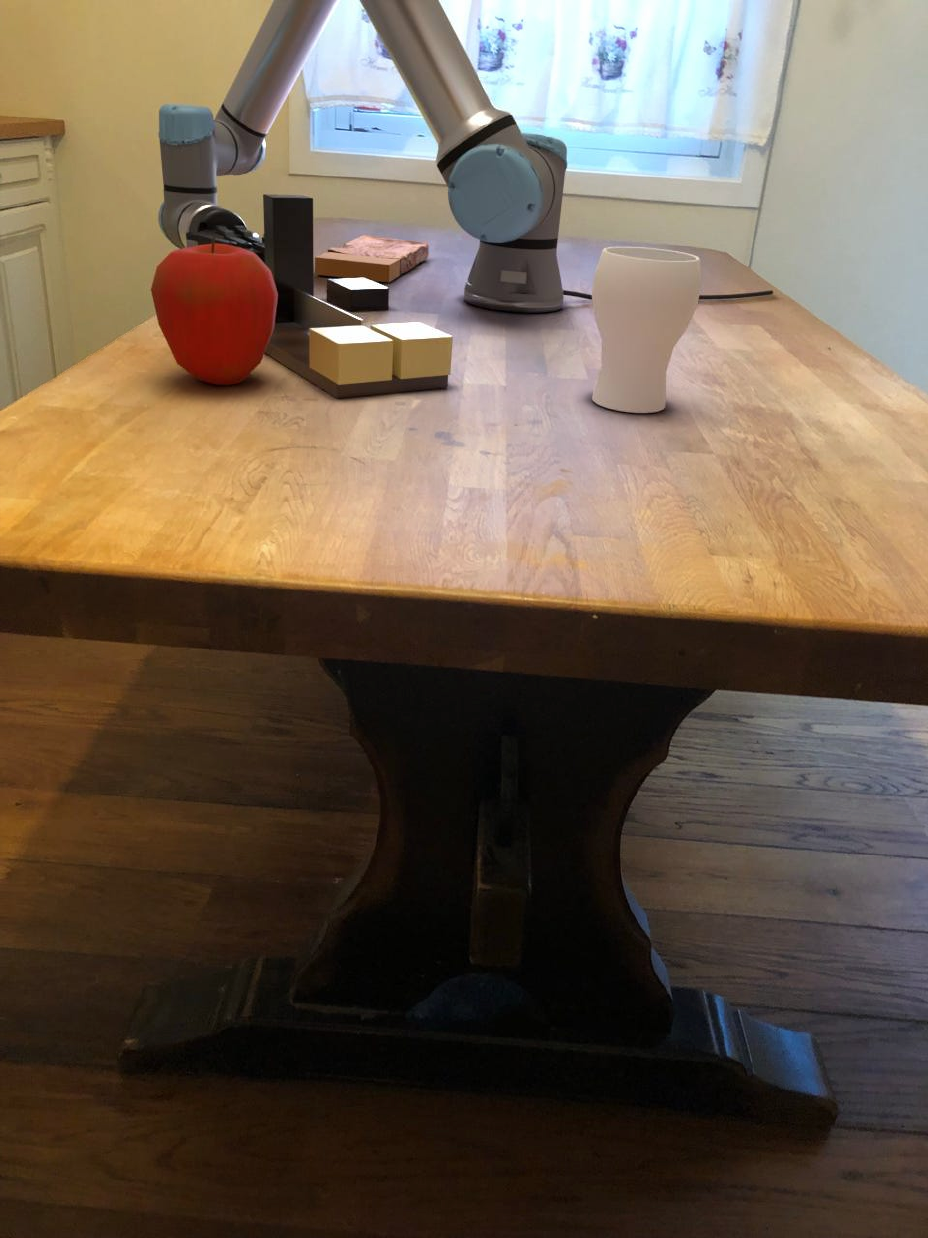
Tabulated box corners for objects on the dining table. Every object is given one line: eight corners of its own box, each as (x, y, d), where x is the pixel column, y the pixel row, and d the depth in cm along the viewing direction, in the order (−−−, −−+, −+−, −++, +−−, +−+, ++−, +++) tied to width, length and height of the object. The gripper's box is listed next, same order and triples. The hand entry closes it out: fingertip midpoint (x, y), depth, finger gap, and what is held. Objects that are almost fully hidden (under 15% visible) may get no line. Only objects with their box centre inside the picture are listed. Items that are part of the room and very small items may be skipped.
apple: (179, 361, 103) (169, 222, 96) (289, 370, 103) (286, 231, 96) (142, 392, 92) (127, 237, 85) (265, 401, 92) (260, 247, 85)
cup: (678, 423, 96) (707, 266, 88) (573, 410, 97) (593, 254, 90) (678, 396, 105) (704, 252, 98) (583, 384, 106) (601, 241, 99)
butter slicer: (266, 318, 117) (262, 194, 110) (304, 316, 119) (302, 194, 112) (340, 359, 101) (341, 218, 95) (382, 356, 104) (385, 218, 97)
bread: (312, 275, 155) (312, 254, 154) (363, 252, 181) (363, 233, 180) (389, 284, 153) (390, 262, 152) (430, 259, 179) (431, 240, 178)
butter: (309, 367, 99) (309, 328, 97) (417, 358, 105) (419, 321, 103) (338, 384, 94) (338, 343, 92) (450, 374, 100) (452, 336, 98)
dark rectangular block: (326, 300, 138) (326, 278, 137) (363, 298, 141) (363, 277, 140) (350, 311, 132) (350, 289, 131) (388, 309, 135) (389, 287, 134)
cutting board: (220, 325, 120) (219, 312, 119) (315, 320, 126) (315, 308, 125) (336, 398, 95) (336, 383, 94) (447, 387, 101) (448, 373, 101)
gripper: (259, 261, 138) (327, 292, 121) (170, 263, 132) (228, 296, 115) (257, 206, 135) (327, 229, 118) (165, 204, 128) (225, 229, 111)
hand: (278, 262), depth 116 cm, fingers closed
